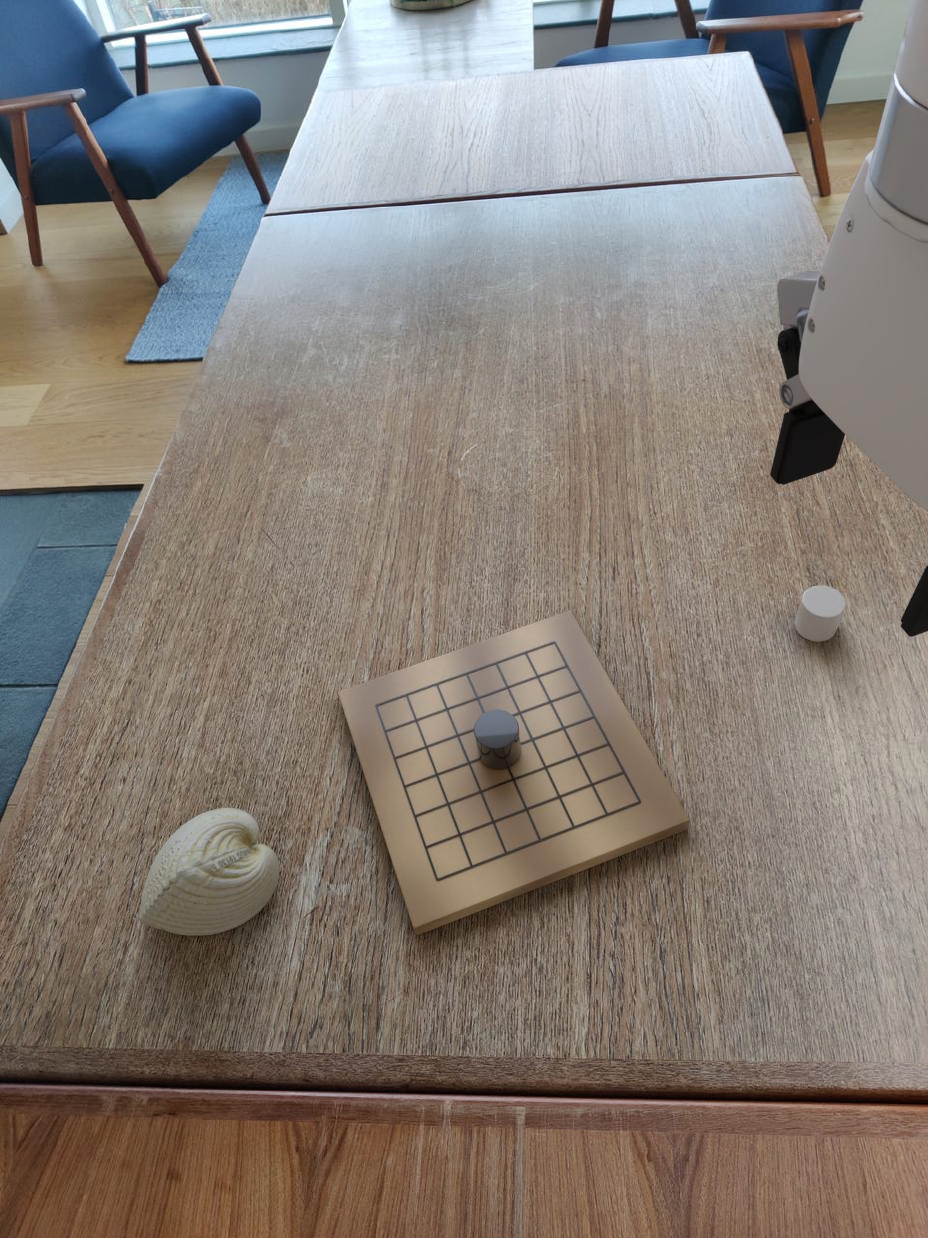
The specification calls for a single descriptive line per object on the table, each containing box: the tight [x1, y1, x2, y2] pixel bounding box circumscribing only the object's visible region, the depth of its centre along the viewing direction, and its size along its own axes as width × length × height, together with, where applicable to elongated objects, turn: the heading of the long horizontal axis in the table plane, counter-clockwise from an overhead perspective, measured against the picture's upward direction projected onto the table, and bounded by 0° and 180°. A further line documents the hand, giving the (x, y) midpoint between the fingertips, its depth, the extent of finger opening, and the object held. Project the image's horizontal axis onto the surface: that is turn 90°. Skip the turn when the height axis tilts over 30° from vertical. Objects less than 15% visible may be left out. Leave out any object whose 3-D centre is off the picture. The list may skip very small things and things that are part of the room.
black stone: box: [474, 710, 521, 770], centre depth 64 cm, size 3×3×3 cm
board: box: [337, 609, 690, 936], centre depth 66 cm, size 20×20×2 cm
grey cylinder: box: [793, 585, 847, 643], centre depth 69 cm, size 3×3×3 cm
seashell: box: [138, 807, 280, 937], centre depth 60 cm, size 8×8×8 cm
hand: (863, 541), depth 39 cm, fingers open, 9 cm apart
